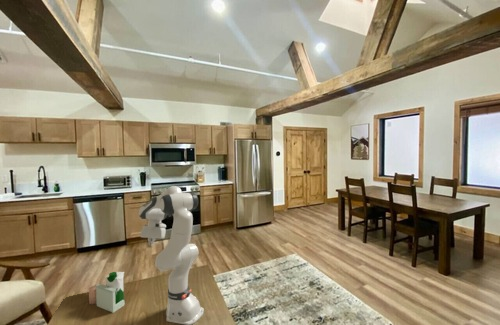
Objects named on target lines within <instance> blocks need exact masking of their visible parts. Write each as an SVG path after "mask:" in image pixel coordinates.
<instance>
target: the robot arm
mask: <svg viewBox="0 0 500 325" xmlns="http://www.w3.org/2000/svg"><path fill="white" fill-rule="evenodd" d="M198 206H199V197H198V195H197V194H196V193H194V192H191V191H190V192H189V191H186V192H183V191H182V189H181V188H180V187H179V186H177V185H171V186H169V187H168V188H166V189H165V190H164V191H163V192H162V193H161V194H160V195H157V196H153V197H152V198H151V199H150V200H148V201H147V202H146V203H144V204H142V205H141V206H140V207H139V210H138V216H139V218H140V219H141V220H148V221H147V224H144V225H143V226H142V229H141V230H140V236H139V237H140V238H143V239H144V238H145V239H146V238H147V241H148V245H149V246H153V245H154V244H155V241H156V239H162V240H163V239H165V237H166V232H167V229H166V228H167V225H166V224H165V223H163V222H162V221H163V220H165V219H166V218H167V217H173V223H172V228H171V233H170V237H169V240H168V243H167V244H166V246H165V247H164V248H163V249H162V250H161V251H160V252H159V253H158V254H156V257H155V260H154V261H155V262H154V264H155V268H156V269H157V270H159V271H161V272H165V271H169V270H172V271H171V272H170V273H169V276H168V279H167V281H168V282H167V284H168V285H167V286H168V289H167V297H168V298H167V299H168V300H167V307H166V311H165V316H166V322H168V323H169V322H170V323H173V324H174V323H175V324H181V325H193V324H194V323H196V322H197V321H198V320H200V318H201V317H202V316H203V314H204V312H205V308H204V307H202V306H201V305H200V304H201V303H200V301H199V300H198V298H197V297H196V296H194V295H193V293H191V292H192V288H190V287H189V273H190V270H191V267H192V265H193V263H194V262H195V260H197V258H198V257H199V248H198V246H197V245H196V244H195V243H190V242H191V237H192V231H193V223H194V222H193V221H194V217H193V213H192V212H191V211H194V210H195V209H197V207H198Z"/></svg>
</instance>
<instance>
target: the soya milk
mask: <svg viewBox="0 0 500 325" xmlns="http://www.w3.org/2000/svg"><path fill="white" fill-rule="evenodd" d="M108 274H109V275H106V277H105V278H104V279H105V284H106V286H109V287H112V288H115V289H116V292H115V303H116V304H117V303H119V302H120V301H122V300H125V294H124V276H125V271H112V272H110V273H108Z"/></svg>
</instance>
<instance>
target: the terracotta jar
mask: <svg viewBox="0 0 500 325" xmlns="http://www.w3.org/2000/svg"><path fill="white" fill-rule="evenodd" d="M96 285H97V284H95V285H91V286H90V287H89V288H88V301H89V305H97V298H96Z"/></svg>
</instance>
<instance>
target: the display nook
mask: <svg viewBox="0 0 500 325" xmlns="http://www.w3.org/2000/svg"><path fill="white" fill-rule="evenodd" d="M95 285H96V298H97V303H96V307H98V308H100V309H103V310H106V311H107V312H111V313H113V314H114V313H115V312H116V311H118V310H120V309H121V308H123V307H124V306H125V299H124V300H122V301H120V302H119V303H117V304H116V303H115V292H116V289H115V288H112V287H109V286H106V285H105V284H102V283H98V284H95Z"/></svg>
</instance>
